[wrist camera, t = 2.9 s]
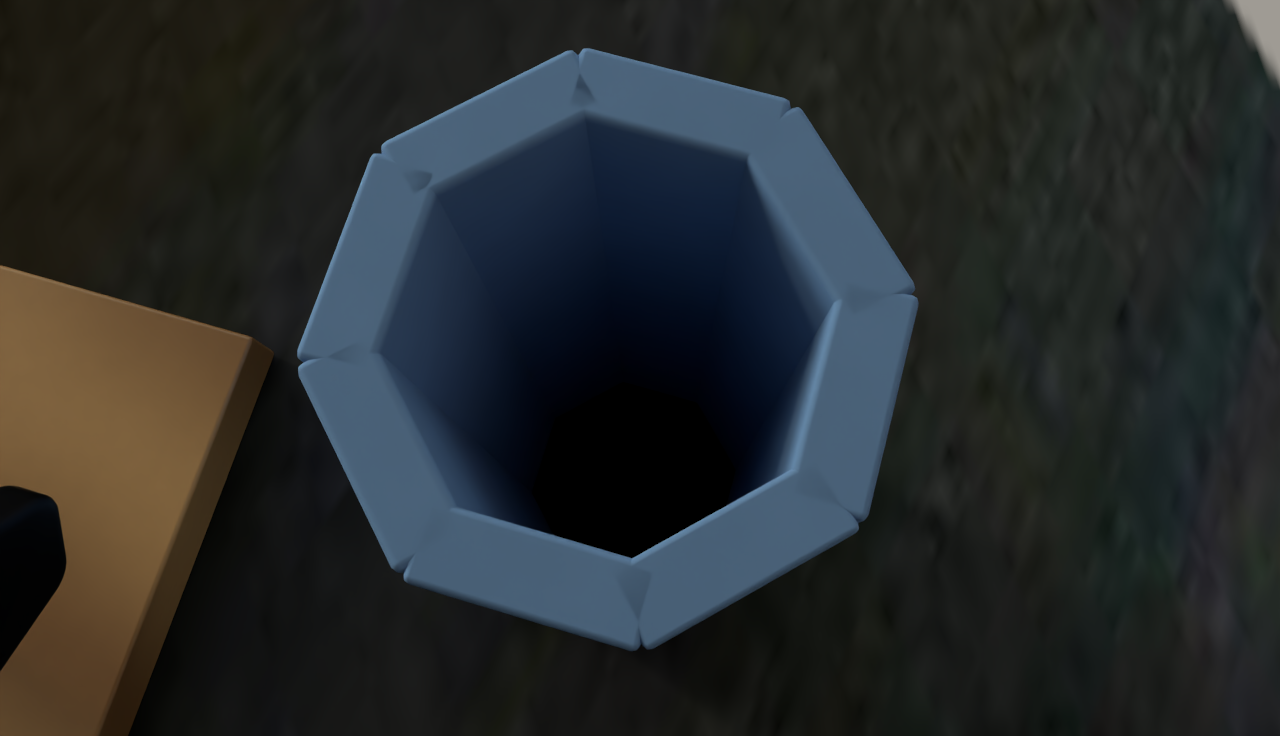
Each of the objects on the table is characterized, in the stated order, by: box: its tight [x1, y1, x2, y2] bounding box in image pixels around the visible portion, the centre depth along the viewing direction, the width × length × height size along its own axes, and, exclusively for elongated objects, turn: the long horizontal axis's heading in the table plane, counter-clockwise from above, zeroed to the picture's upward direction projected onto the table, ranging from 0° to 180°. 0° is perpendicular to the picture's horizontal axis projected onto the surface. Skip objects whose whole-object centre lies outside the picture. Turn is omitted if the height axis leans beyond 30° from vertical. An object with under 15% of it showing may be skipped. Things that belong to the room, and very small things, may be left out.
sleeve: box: [298, 48, 918, 651], centre depth 14 cm, size 5×5×11 cm
